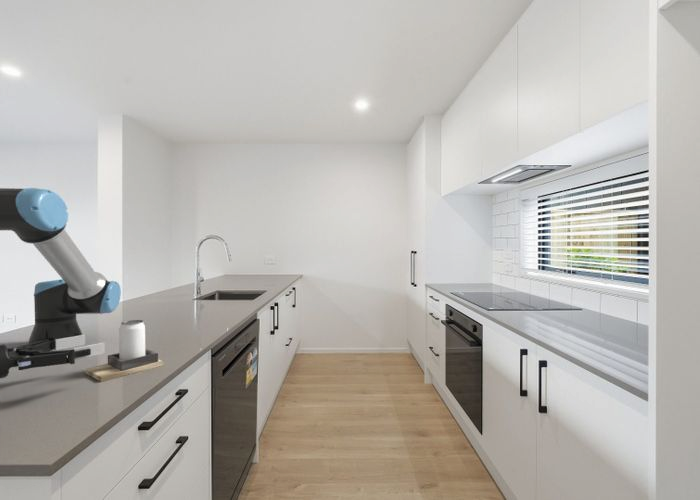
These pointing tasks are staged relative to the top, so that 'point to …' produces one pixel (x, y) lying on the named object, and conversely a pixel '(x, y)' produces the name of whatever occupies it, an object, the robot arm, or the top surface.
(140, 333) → the can
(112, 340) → the top surface
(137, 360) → the seat block
